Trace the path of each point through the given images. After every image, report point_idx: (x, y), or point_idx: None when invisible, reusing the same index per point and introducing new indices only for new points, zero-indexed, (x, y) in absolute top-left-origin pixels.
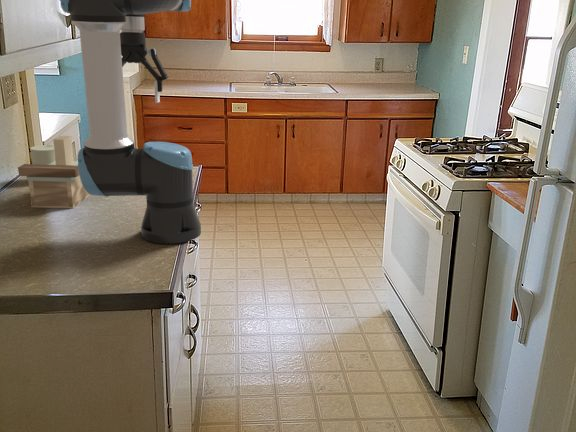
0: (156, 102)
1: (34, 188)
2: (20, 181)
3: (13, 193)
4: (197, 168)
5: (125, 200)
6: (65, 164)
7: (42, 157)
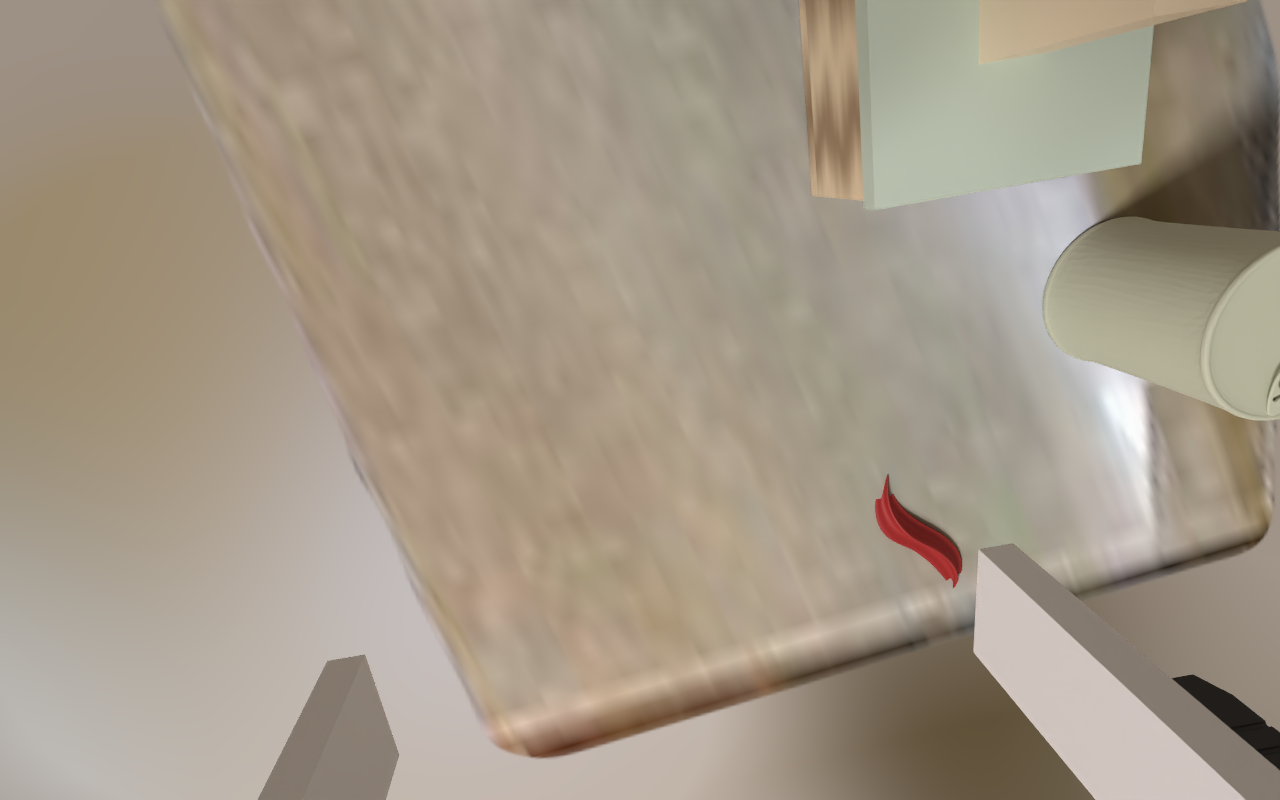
0: (344, 662)
1: None
2: None
3: None
4: (479, 720)
5: (565, 23)
6: None
7: (1248, 236)
